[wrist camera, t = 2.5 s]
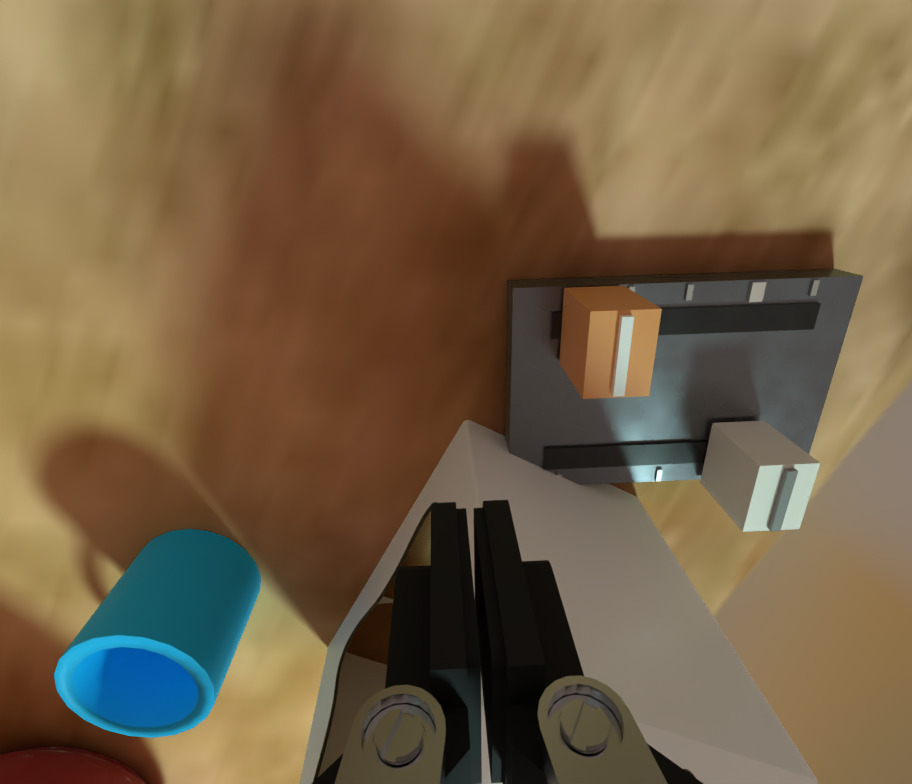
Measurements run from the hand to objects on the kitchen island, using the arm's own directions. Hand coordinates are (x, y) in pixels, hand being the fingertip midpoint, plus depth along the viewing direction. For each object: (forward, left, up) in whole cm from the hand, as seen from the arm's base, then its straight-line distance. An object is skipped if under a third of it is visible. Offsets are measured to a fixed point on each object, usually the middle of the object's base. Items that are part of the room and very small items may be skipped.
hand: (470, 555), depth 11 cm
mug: (+19, -19, -19) cm, 32 cm away
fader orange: (0, +7, -16) cm, 18 cm away
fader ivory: (+8, +16, -16) cm, 24 cm away
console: (+4, +12, -18) cm, 22 cm away
